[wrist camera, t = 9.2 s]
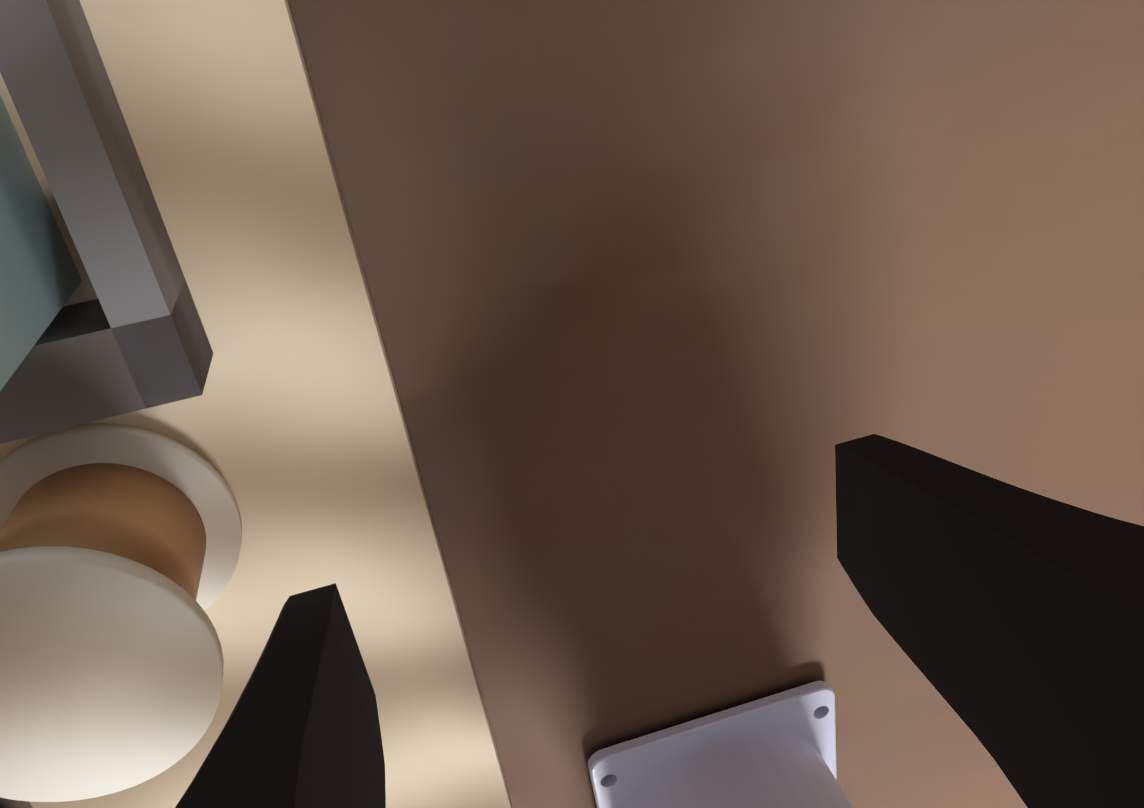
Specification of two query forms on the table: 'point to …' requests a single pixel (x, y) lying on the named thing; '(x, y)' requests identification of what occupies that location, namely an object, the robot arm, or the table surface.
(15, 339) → the pale blue block
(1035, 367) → the table surface
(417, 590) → the winding board
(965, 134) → the table surface
